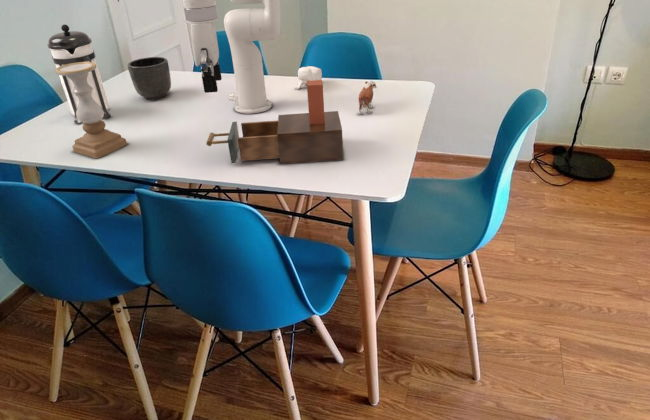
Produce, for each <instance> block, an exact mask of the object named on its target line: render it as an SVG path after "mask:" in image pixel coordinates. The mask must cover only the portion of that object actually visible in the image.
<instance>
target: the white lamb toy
mask: <svg viewBox="0 0 650 420" xmlns="http://www.w3.org/2000/svg"><path fill="white" fill-rule="evenodd" d="M322 72H323V71H322V68H319V67H317V66H313V65H312V66H311V65H307V66H302V67H299V68H298V71H297V78H298V81H297V83H296V85H295V89H296V90H299V89H301V87H302V86H303V85H306V86H307V81H313V80H322V81H323V73H322Z"/></svg>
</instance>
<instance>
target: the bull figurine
mask: <svg viewBox="0 0 650 420" xmlns="http://www.w3.org/2000/svg"><path fill="white" fill-rule="evenodd" d="M364 84H365V85H364V87H362V88H361V91H360V92H359V95H358V105H359V106H358V111H359V112H358V115H362V108H365V111H366V113H368V114H371V110H370V109H372V108H373V106H372V103H373V102H372V101H373V98H374V89H377V87H378V86H377V84H376V82H375V81H374V80H372V79H371V80H369V81H365V82H364Z"/></svg>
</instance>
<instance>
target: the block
mask: <svg viewBox="0 0 650 420" xmlns="http://www.w3.org/2000/svg"><path fill="white" fill-rule="evenodd" d="M306 92H307V93H306V94H307V105H308V106H307V107H308V108H307V109H308V113H309V122H310V125H312V124H325V117H324V112H325V102H324V101H325V100H324V99H325V98H324V84H323V79H322V80H313V81H307V85H306Z"/></svg>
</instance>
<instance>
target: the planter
mask: <svg viewBox="0 0 650 420" xmlns="http://www.w3.org/2000/svg"><path fill="white" fill-rule="evenodd" d="M127 70H128V73H129V76H130V80H131V83H132V85H133V87H134V90H135V91H136V93H137V94H138V95H139V96H141V97H142V98H143V99H144V100H146V101H158V100H162V99H164V98H166V97H167V96H168V93H169V92H170V91H171V88H172V77H171V71H170V66H169V60H168V59H167V58H166V57H163V56H150V57H149V56H148V57H142V58H137V59H134V60H132V61H129V62H128V63H127Z"/></svg>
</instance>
